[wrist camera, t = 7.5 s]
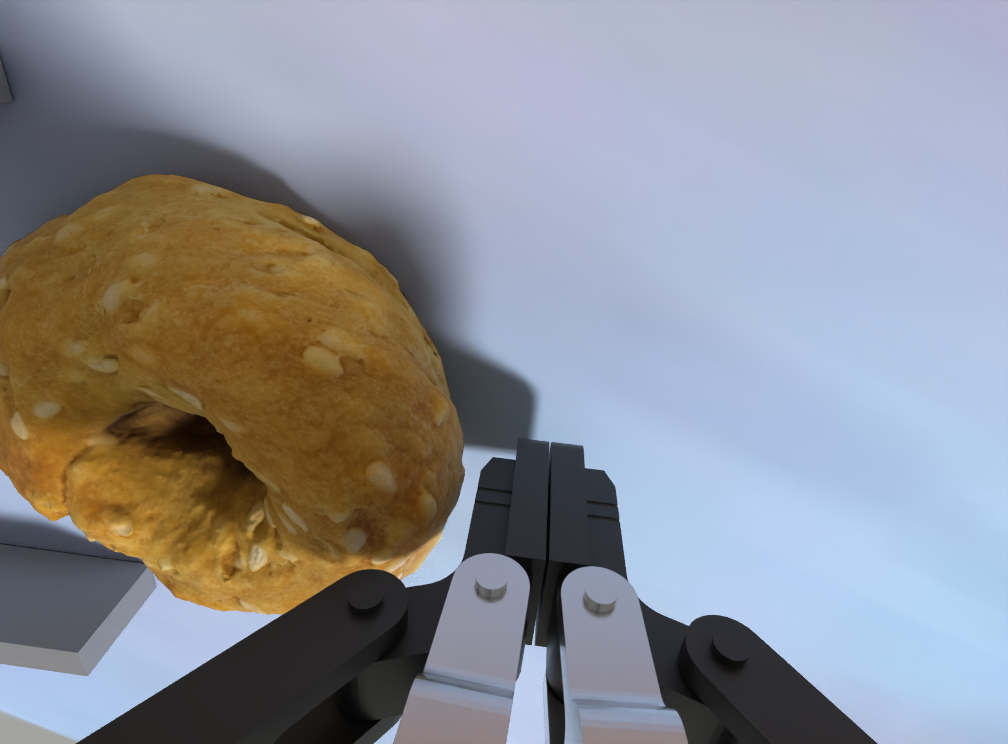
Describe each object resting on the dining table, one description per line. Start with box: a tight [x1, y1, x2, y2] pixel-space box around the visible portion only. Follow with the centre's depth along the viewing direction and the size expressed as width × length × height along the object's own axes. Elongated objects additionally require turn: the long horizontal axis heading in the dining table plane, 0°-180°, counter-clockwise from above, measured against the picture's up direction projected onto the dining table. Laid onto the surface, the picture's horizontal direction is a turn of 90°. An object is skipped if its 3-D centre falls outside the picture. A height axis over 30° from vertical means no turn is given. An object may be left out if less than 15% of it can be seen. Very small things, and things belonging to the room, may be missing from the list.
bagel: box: [0, 174, 465, 614], centre depth 12 cm, size 10×11×5 cm
